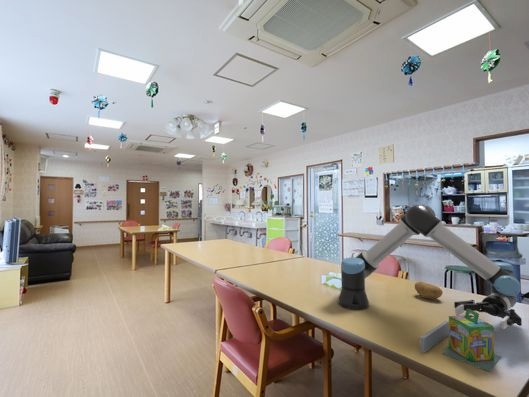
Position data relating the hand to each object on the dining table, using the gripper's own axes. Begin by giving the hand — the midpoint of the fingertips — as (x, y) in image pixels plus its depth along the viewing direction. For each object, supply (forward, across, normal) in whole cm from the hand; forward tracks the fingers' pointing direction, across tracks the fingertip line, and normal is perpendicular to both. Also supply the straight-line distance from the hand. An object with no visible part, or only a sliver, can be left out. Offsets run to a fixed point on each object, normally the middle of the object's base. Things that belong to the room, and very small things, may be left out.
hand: (478, 318), depth 97 cm
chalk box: (+8, 0, -10) cm, 13 cm away
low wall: (+8, +11, -11) cm, 17 cm away
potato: (-40, +33, -11) cm, 53 cm away
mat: (+8, 0, -11) cm, 13 cm away
